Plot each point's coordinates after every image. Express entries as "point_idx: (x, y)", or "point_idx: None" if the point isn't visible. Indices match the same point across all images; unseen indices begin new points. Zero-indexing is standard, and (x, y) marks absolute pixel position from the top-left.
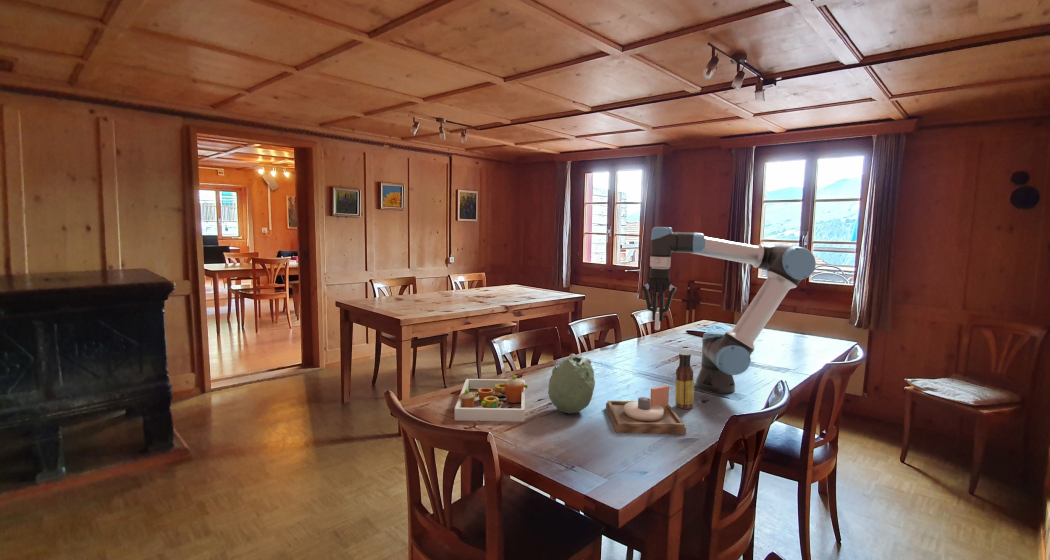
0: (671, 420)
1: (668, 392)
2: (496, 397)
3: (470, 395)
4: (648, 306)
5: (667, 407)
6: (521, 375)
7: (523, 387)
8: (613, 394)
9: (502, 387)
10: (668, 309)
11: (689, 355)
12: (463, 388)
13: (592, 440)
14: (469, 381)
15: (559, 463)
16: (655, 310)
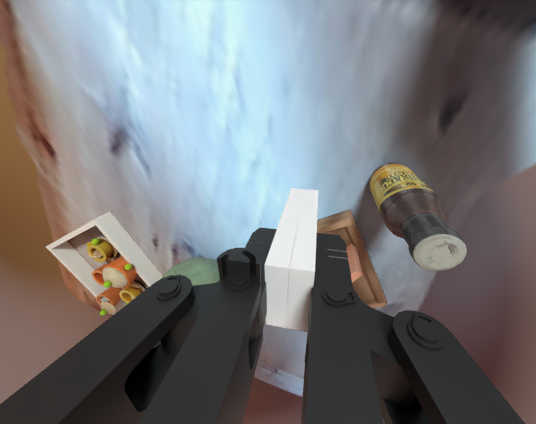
0: (363, 284)
1: (359, 265)
2: (128, 293)
3: (112, 311)
4: (157, 370)
5: (354, 243)
6: (45, 140)
7: (131, 274)
8: (233, 169)
9: (103, 259)
10: (451, 356)
11: (457, 262)
12: (79, 279)
13: (272, 330)
14: (54, 247)
15: (264, 367)
16: (259, 346)
